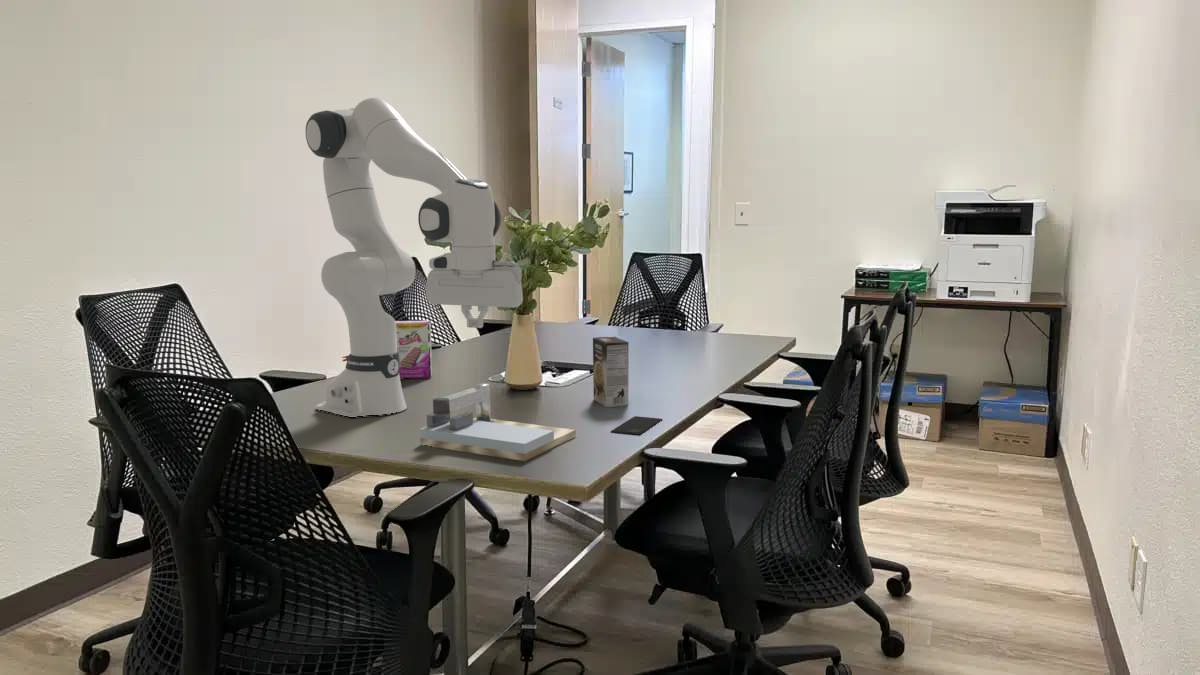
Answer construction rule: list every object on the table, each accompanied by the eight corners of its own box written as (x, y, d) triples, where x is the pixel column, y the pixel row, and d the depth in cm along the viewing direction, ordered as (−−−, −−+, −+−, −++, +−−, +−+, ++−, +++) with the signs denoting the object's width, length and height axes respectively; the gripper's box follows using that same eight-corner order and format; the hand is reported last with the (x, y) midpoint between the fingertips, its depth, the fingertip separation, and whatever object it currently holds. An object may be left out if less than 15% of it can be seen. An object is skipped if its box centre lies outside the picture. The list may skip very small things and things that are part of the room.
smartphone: (633, 418, 208) (609, 434, 194) (633, 415, 208) (609, 430, 194) (663, 421, 205) (641, 437, 191) (663, 417, 205) (641, 433, 191)
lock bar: (481, 418, 201) (480, 382, 199) (493, 419, 199) (492, 384, 198) (430, 436, 185) (429, 398, 184) (443, 438, 184) (442, 400, 182)
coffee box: (592, 399, 226) (591, 337, 223) (615, 397, 228) (615, 335, 226) (605, 407, 217) (604, 342, 215) (629, 405, 220) (629, 341, 217)
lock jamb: (420, 445, 186) (419, 417, 185) (477, 423, 203) (476, 397, 202) (525, 461, 174) (524, 431, 173) (575, 436, 191) (575, 409, 190)
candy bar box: (392, 380, 253) (389, 323, 250) (394, 376, 258) (391, 320, 255) (431, 378, 254) (429, 322, 252) (433, 375, 259) (430, 319, 257)
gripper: (527, 260, 180) (527, 327, 183) (435, 257, 186) (437, 323, 188) (515, 262, 174) (516, 332, 177) (421, 260, 180) (423, 327, 182)
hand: (475, 327), depth 182 cm, fingers closed
